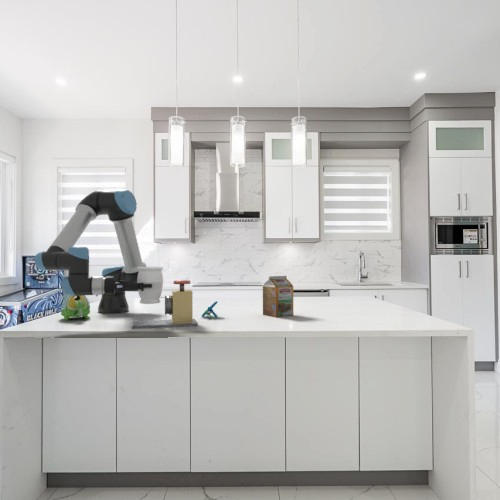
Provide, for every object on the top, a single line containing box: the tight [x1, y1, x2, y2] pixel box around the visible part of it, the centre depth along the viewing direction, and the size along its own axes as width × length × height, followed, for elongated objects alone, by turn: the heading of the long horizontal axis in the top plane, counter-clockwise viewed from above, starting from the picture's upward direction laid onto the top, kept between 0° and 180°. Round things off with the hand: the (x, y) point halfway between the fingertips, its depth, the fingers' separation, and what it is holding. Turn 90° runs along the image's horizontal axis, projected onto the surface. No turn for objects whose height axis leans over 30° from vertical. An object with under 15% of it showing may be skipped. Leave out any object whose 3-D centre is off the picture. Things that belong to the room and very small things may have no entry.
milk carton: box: [262, 275, 294, 318], centre depth 190 cm, size 11×11×19 cm
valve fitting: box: [131, 279, 199, 330], centre depth 164 cm, size 13×26×18 cm, turn 104°
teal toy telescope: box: [201, 300, 218, 319], centre depth 184 cm, size 11×6×10 cm
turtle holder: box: [60, 295, 91, 322], centre depth 179 cm, size 12×18×12 cm
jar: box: [137, 266, 164, 305], centre depth 163 cm, size 11×10×15 cm
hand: (160, 284), depth 164 cm, fingers closed on jar, 10 cm apart
